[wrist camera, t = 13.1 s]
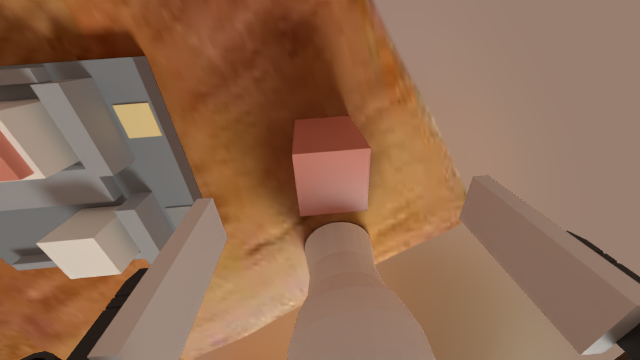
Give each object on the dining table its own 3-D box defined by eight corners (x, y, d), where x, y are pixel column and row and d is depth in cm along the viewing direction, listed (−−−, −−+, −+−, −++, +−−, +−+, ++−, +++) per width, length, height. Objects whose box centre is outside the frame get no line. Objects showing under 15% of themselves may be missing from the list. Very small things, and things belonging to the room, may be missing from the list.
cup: (292, 210, 24) (280, 410, 11) (391, 210, 24) (491, 394, 12) (292, 276, 29) (284, 463, 16) (373, 275, 30) (428, 449, 17)
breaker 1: (42, 156, 17) (-40, 191, 13) (1, 101, 15) (-112, 122, 11) (96, 151, 17) (32, 185, 13) (63, 96, 15) (-25, 115, 11)
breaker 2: (106, 241, 22) (70, 278, 18) (82, 208, 20) (35, 243, 16) (149, 237, 22) (121, 274, 18) (129, 204, 20) (93, 238, 16)
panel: (25, 253, 24) (-22, 288, 20) (-160, 77, 15) (-294, 86, 12) (217, 235, 25) (203, 266, 21) (145, 56, 16) (102, 59, 12)
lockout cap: (300, 167, 21) (300, 216, 15) (294, 119, 19) (291, 154, 13) (348, 163, 21) (367, 210, 15) (348, 115, 19) (370, 148, 13)
